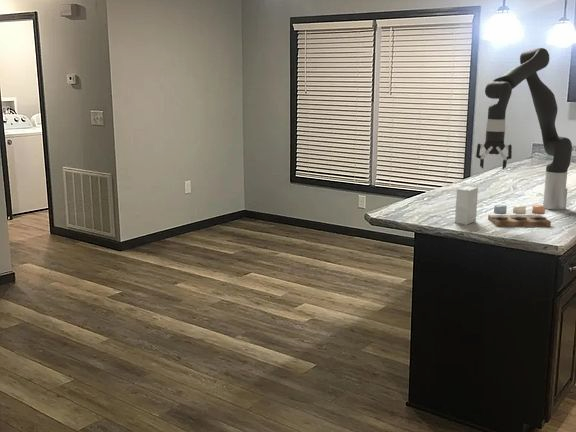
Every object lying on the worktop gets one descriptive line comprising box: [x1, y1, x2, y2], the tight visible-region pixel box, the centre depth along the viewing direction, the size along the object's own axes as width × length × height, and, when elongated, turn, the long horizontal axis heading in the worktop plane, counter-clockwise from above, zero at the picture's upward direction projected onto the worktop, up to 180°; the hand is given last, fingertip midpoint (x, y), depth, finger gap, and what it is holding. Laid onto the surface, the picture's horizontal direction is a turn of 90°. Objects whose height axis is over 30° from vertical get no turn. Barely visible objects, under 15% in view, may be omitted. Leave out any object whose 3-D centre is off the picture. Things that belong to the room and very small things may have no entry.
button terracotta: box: [531, 204, 546, 215], centre depth 275 cm, size 5×5×3 cm
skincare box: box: [454, 185, 479, 225], centre depth 277 cm, size 8×6×15 cm
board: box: [487, 214, 552, 227], centre depth 277 cm, size 22×13×2 cm, turn 88°
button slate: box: [493, 204, 508, 215], centre depth 276 cm, size 5×5×3 cm
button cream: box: [512, 204, 527, 215], centre depth 276 cm, size 5×5×3 cm
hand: (492, 168), depth 278 cm, fingers open, 8 cm apart
